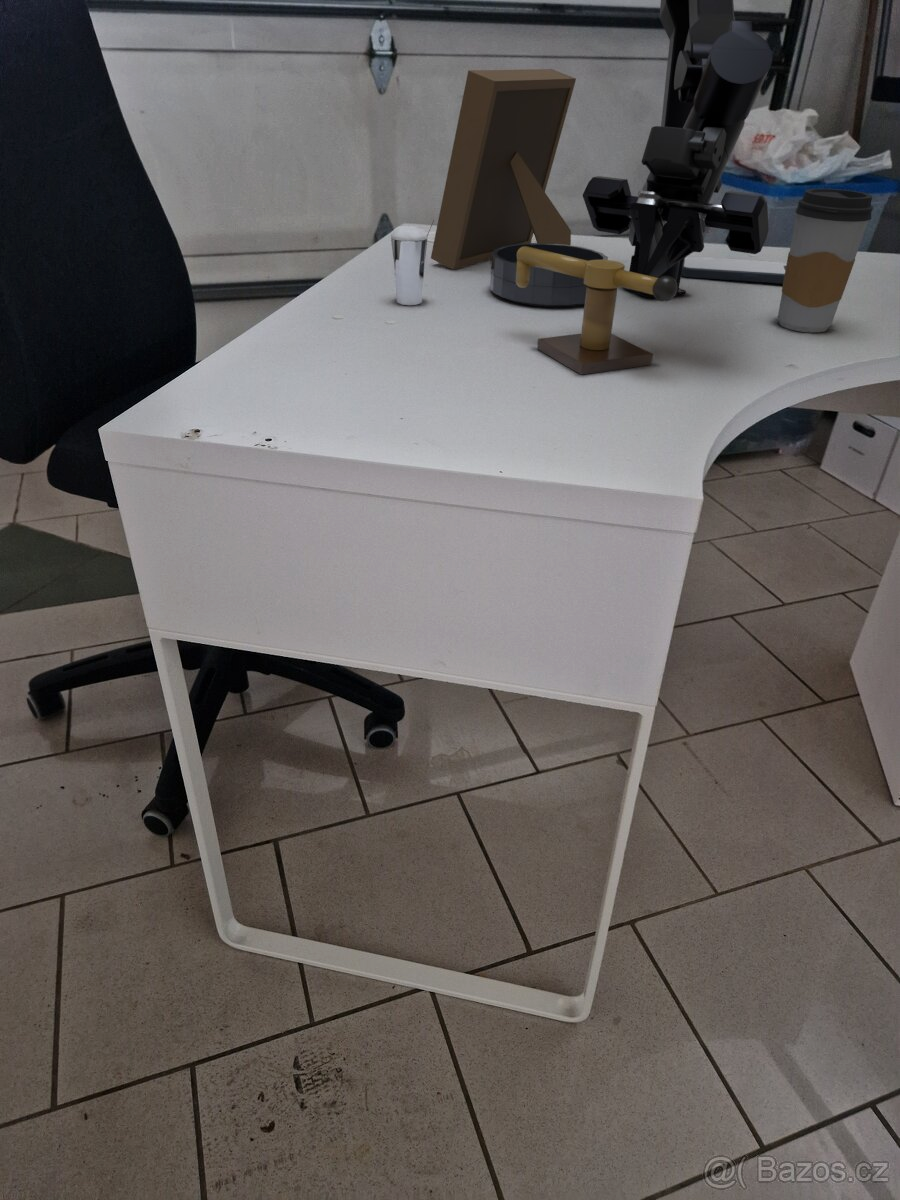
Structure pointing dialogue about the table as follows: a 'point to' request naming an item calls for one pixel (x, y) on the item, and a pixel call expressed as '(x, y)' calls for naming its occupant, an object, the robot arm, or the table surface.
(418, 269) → the milkshake
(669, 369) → the table surface
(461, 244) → the photo frame
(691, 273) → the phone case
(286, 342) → the table surface
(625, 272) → the faucet
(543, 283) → the basin
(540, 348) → the faucet base
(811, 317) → the coffee cup
